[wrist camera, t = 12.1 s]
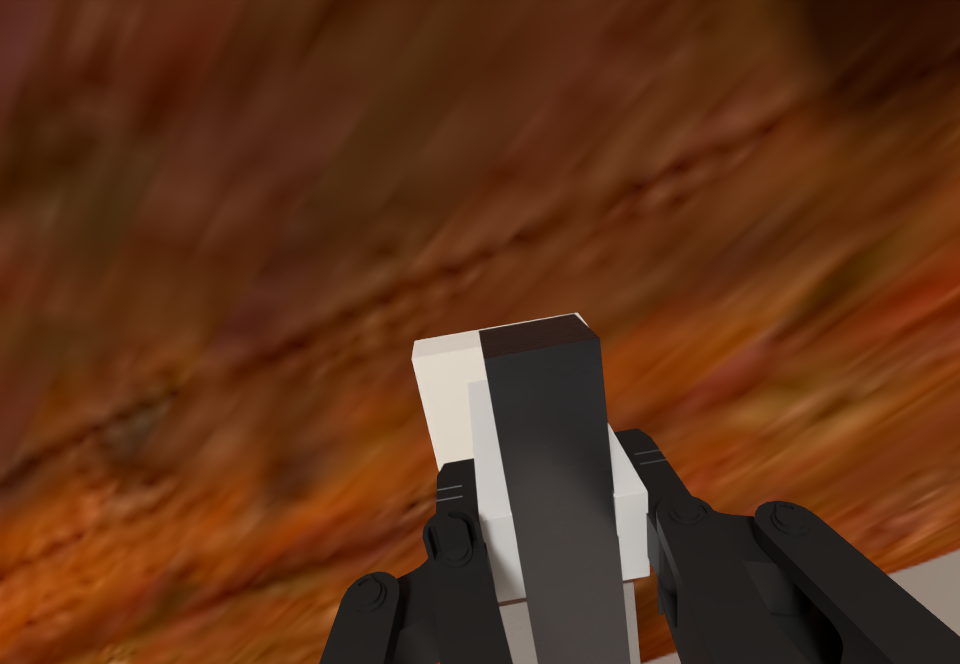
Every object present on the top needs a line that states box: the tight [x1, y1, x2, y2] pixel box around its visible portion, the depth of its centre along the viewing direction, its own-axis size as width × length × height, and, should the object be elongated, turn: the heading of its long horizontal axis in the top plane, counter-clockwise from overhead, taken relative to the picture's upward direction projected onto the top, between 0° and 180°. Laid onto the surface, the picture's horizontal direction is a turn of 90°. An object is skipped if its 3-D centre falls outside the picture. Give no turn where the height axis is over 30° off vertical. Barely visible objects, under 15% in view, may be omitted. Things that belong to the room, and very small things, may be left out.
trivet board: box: [412, 313, 587, 472], centre depth 35 cm, size 16×12×3 cm
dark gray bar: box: [479, 314, 640, 664], centre depth 16 cm, size 24×6×6 cm, turn 9°
